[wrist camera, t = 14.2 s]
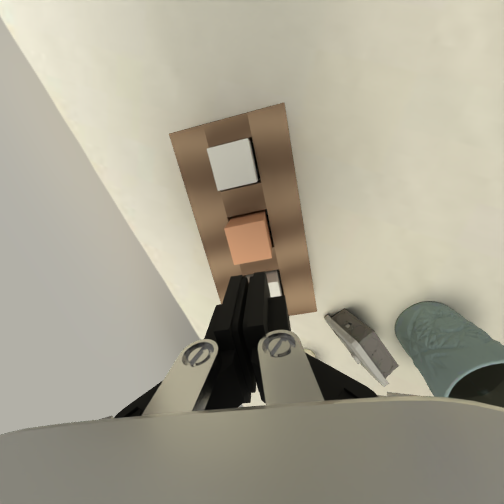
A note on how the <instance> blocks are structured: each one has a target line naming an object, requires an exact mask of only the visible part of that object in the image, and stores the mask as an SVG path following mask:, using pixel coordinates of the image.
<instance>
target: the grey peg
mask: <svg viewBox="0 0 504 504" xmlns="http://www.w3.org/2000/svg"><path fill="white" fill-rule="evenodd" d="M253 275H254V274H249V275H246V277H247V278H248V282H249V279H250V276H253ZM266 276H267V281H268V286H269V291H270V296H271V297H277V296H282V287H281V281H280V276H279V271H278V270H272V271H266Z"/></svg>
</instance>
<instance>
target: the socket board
mask: <svg viewBox="0 0 504 504" xmlns="http://www.w3.org/2000/svg"><path fill="white" fill-rule="evenodd" d="M169 136H170V139H171V142H172V146H173V149H174V152H175V155H176V159H177V162H178V165H179V168H180V172H181V175H182V178H183V181H184V185H185V188H186V191H187V194H188V198H189V201H190V204H191V207H192V210H193V214H194V217H195V220H196V223H197V227H198V230H199V233H200V236H201V240H202V243H203V246H204V249H205V253H206V256H207V259H208V262H209V266H210V269H211V272H212V275H213V279H214V282H215V285H216V288H217V292H218V295H219V298H220V301H221V304H222V302H223V299H224V296H225V293H226V290H227V287H228V283H229V280H230V277H231V276H237V275H243V278H244V277H246V275H249V274H254V273H256V272H263V271H265V272H266V271H272V270H278V269H279V272H280V276H281V281H282V284H281V287H282V296H284V295H285V298H286V304H287V309H288V315H289V316H291V315H297V314H304V313H311V312H317V308H316V301H315V295H314V289H313V282H312V276H311V269H310V263H309V257H308V250H307V244H306V238H305V231H304V225H303V218H302V212H301V206H300V199H299V193H298V187H297V180H296V174H295V168H294V161H293V155H292V148H291V142H290V136H289V129H288V123H287V117H286V110H285V104H284V103H280V104H277V105H273V106H269V107H266V108H262V109H258V110H255V111H251V112H247V113H244V114H240V115H236V116H233V117H229V118H225V119H222V120H218V121H214V122H210V123H207V124H203V125H199V126H196V127H192V128H188V129H185V130H181V131H177V132H174V133H170V134H169ZM246 138H248V139H249V140H250V141H251V142H253V144H254V149H255V154H256V159H257V164H258V169H259V174H260V179H261V180H259V181H257V182H255V183H251V184H247V185H242V186H238V187H234V188H229V189H225V190H220V191H218V190H217V186H216V182H215V178H214V175H213V171H212V167H211V163H210V160H209V156H208V152H207V148H211V147H215V146H219V145H223V144H227V143H231V142H235V141H238V140H242V139H246ZM264 209H267V213H268V218H269V223H270V227H271V232H272V236H271V245H272V258H270V259H265V260H260V261H254V262H249V263H243V264H238V265H234V263H233V260H232V256H231V252H230V248H229V245H228V241H227V237H226V234H225V230H224V228H225V226H226V225H227V224H228V222H229V221H230V219H231V218H232V216H236V215H241V214H246V213H250V212H255V211H260V210H264Z"/></svg>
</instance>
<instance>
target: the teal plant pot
mask: <svg viewBox="0 0 504 504" xmlns="http://www.w3.org/2000/svg"><path fill="white" fill-rule="evenodd" d="M395 332H396V336H397V338H398V340H399V342H400V343H401V345H402V346H403V348H404V349H405V351H406V352H407V354H408V355H409V356H410V357H411V358H412V360H413V362H414V365H415V366H416V367H417V368H418V370H419V371H420V373H421V374H422V376H423V377H424V379H425V381H426V383H427V385H428V387H429V389H430V390H431V392H432V394H433V395H434V397H448V398H455V399H463V400H470V401H476V402H480V403H485V404H489V405H493V406H498V407H502V408H504V346H503V345H502V344H501V343H500V342H498V341H495V340H493V339H492V338H491V337H490V336H489V335H488V334H487V333H486V332H485V331H483V330H482V329H480V328H478V327H477V326H475V325H474V324H473V323H471V322H469V321H467V320H466V319H465V318H464V317H462V316H461V315H460V314H458V313H457V312H455V311H454V310H452V309H451V308H449V307H448V306H446V305H444V304H441V303H437V302H421V303H418V304H415V305H413V306H411V307H409V308H407V309H406V310H405V311H404V312H403V313H402V314H401V315H400V316H399V318H398V319H397V322H396V325H395Z"/></svg>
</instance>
